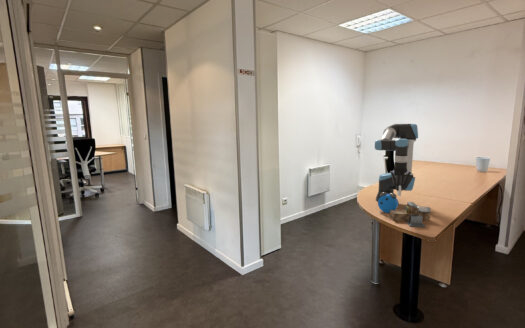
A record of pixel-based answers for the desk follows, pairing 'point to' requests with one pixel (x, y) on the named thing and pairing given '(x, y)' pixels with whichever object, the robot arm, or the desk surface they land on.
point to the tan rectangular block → (407, 209)
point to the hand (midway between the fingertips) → (399, 195)
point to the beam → (403, 216)
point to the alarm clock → (387, 202)
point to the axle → (423, 210)
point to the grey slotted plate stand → (415, 221)
